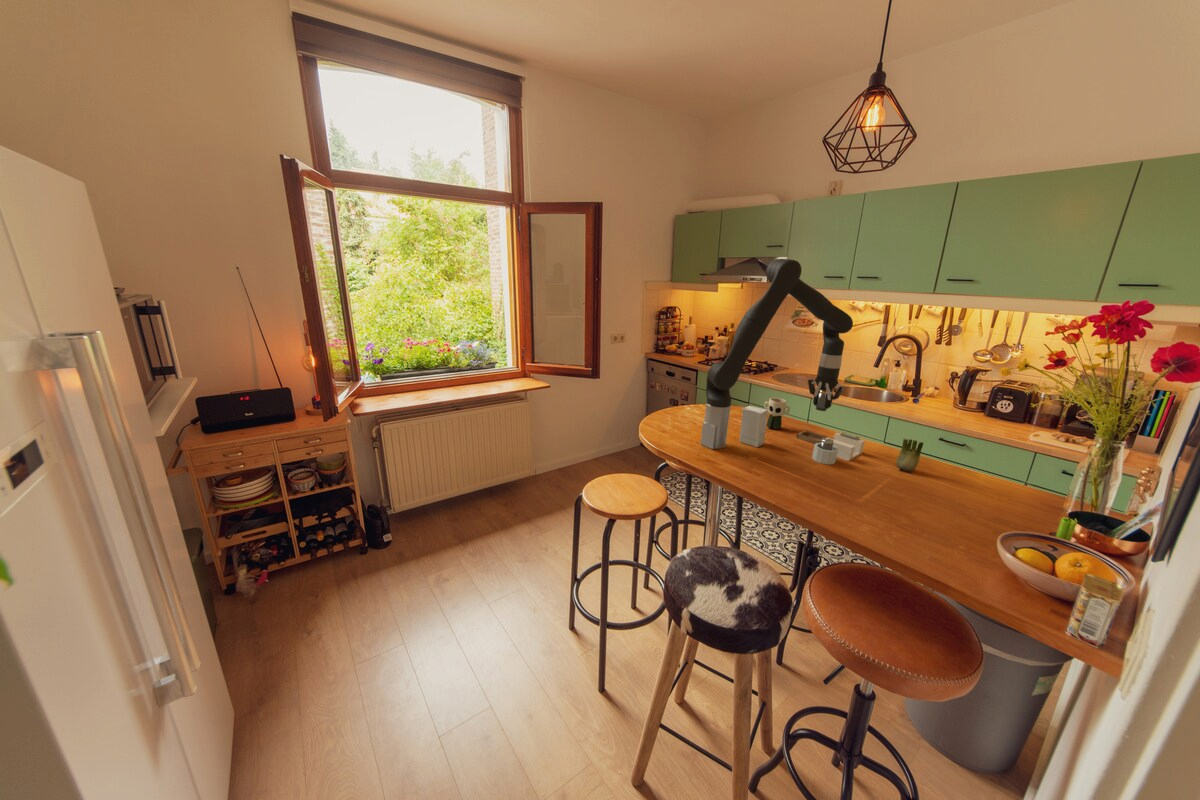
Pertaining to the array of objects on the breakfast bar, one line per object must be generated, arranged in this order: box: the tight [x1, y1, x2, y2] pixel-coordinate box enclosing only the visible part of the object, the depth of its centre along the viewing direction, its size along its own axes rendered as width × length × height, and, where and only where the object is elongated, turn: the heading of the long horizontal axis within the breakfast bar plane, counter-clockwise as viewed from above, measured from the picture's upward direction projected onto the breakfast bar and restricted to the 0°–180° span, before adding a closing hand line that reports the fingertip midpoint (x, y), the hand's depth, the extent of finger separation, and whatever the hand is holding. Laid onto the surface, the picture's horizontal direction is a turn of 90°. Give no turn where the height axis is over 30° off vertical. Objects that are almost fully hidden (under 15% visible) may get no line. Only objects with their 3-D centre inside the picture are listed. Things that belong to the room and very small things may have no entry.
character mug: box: [763, 397, 791, 430], centre depth 190 cm, size 11×7×13 cm, turn 51°
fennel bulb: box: [895, 438, 925, 473], centre depth 153 cm, size 6×5×12 cm
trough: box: [796, 429, 833, 445], centre depth 177 cm, size 8×12×2 cm, turn 39°
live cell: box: [815, 390, 828, 412], centre depth 172 cm, size 4×4×8 cm
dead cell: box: [820, 437, 834, 451], centre depth 158 cm, size 4×4×8 cm
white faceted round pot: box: [811, 443, 838, 465], centre depth 159 cm, size 8×8×6 cm
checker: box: [829, 431, 865, 462], centre depth 166 cm, size 12×10×7 cm
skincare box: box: [739, 405, 768, 448], centre depth 173 cm, size 8×6×15 cm
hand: (821, 406), depth 173 cm, fingers closed on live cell, 4 cm apart
